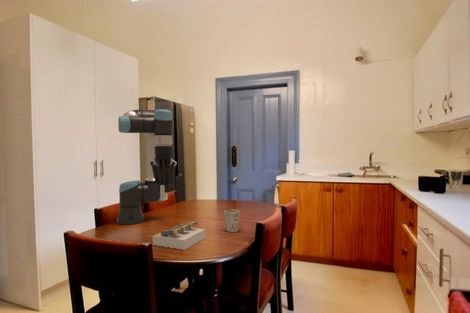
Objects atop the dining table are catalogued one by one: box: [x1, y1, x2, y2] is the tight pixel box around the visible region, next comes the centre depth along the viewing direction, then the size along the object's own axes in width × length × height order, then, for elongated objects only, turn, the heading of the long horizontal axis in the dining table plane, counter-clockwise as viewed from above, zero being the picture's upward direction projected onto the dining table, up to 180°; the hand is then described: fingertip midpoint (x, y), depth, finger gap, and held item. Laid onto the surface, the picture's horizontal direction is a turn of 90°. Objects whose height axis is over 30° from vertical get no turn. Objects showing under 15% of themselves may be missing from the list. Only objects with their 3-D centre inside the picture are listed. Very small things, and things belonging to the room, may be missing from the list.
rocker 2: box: [168, 224, 192, 230], centre depth 132 cm, size 9×4×1 cm, turn 67°
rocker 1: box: [160, 227, 184, 236], centre depth 126 cm, size 9×4×1 cm, turn 67°
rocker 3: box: [176, 220, 199, 228], centre depth 138 cm, size 9×4×1 cm, turn 67°
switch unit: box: [152, 225, 206, 251], centre depth 132 cm, size 16×18×5 cm
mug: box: [223, 208, 241, 233], centre depth 152 cm, size 8×13×10 cm, turn 27°
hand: (164, 199), depth 128 cm, fingers closed
